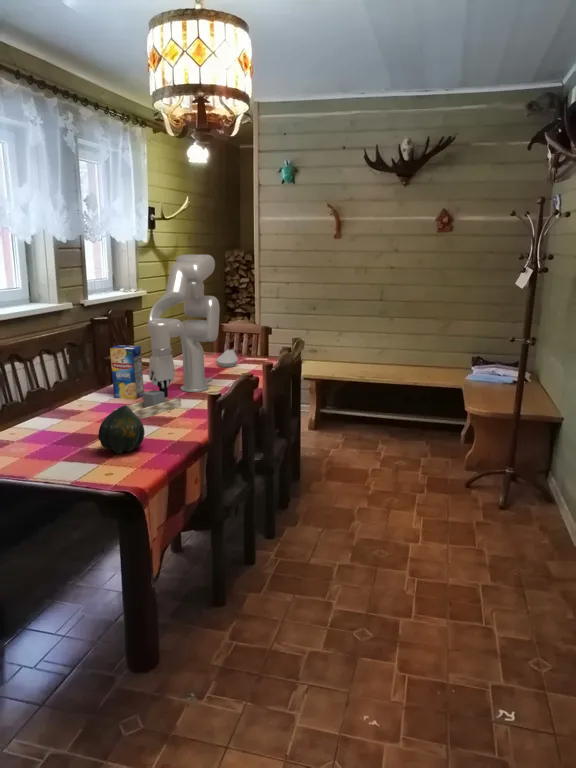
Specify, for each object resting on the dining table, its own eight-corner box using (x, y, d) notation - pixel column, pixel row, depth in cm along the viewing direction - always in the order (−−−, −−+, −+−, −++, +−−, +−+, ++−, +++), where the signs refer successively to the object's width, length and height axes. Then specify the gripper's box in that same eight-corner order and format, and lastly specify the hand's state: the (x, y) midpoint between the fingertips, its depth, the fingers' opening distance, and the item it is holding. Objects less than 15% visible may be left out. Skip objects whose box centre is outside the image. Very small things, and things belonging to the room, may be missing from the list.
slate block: (155, 404, 247) (154, 389, 245) (165, 406, 243) (164, 392, 242) (143, 407, 242) (142, 393, 241) (153, 410, 238) (152, 395, 237)
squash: (92, 444, 188) (122, 405, 190) (87, 432, 202) (115, 396, 203) (129, 468, 194) (158, 430, 196) (122, 454, 208) (149, 419, 209)
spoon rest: (236, 369, 318) (236, 355, 316) (214, 369, 318) (213, 355, 316) (242, 359, 341) (241, 347, 339) (221, 359, 341) (220, 347, 339)
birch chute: (165, 403, 253) (165, 395, 252) (181, 406, 248) (180, 398, 247) (114, 418, 233) (113, 409, 232) (129, 422, 228) (129, 413, 227)
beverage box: (136, 399, 260) (133, 349, 254) (113, 397, 263) (109, 348, 257) (144, 395, 266) (140, 346, 261) (121, 393, 269) (118, 345, 264)
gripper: (168, 348, 249) (171, 391, 254) (140, 354, 238) (143, 399, 242) (181, 350, 245) (183, 394, 249) (153, 356, 233) (155, 402, 238)
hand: (163, 396), depth 246 cm, fingers closed
